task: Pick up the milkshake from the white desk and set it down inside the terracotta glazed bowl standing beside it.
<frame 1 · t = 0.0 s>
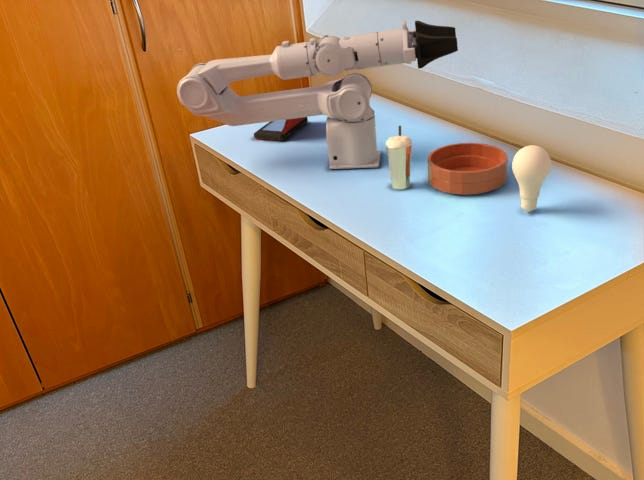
hand: (456, 38, 127), 22 cm above the table, tool horizontal, fingers open, 7 cm apart
milkshake: (401, 186, 131), on the table
lightbulb: (528, 212, 120), on the table
bowl: (467, 180, 131), on the table
handheld game console: (288, 132, 157), on the table
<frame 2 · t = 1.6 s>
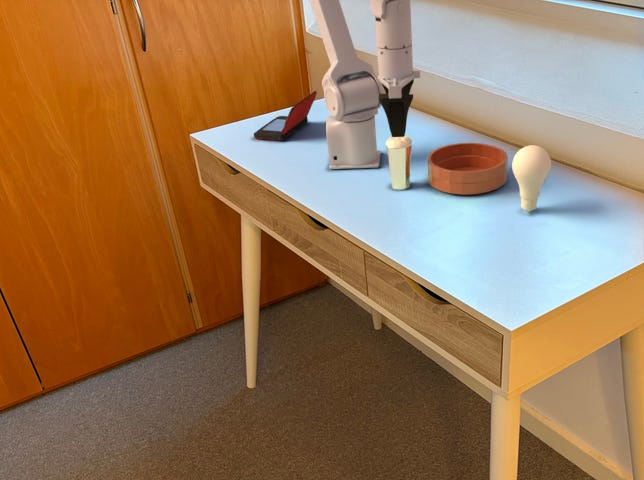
hand: (398, 128, 124), 10 cm above the table, tool pointing down, fingers open, 7 cm apart
nothing on the table moved.
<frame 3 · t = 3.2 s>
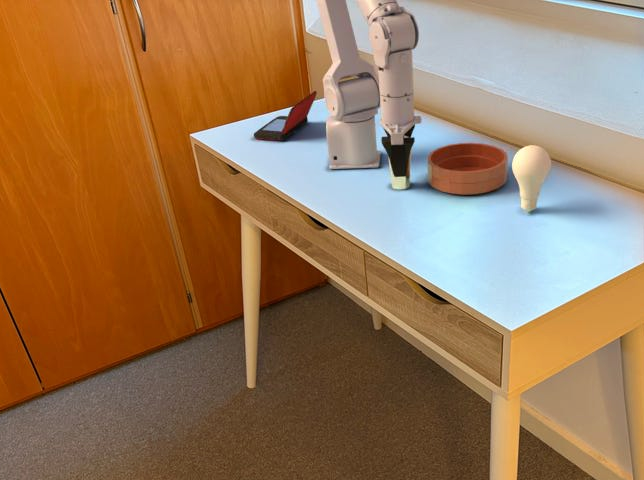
hand: (400, 170, 129), 3 cm above the table, tool pointing down, fingers closed on milkshake, 5 cm apart
milkshake: (401, 186, 131), on the table, touching gripper
everything else where it was.
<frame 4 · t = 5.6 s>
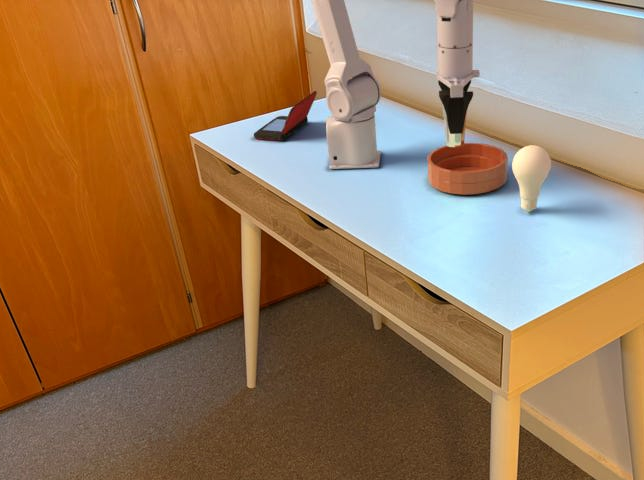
hand: (455, 127, 125), 10 cm above the table, tool pointing down, fingers closed on milkshake, 5 cm apart
milkshake: (455, 144, 127), point 7 cm above the table, touching gripper
everything else where it was.
when the fingers open (3 cm above the table, at t = 8.3 s): milkshake stays where it is, resting on bowl.
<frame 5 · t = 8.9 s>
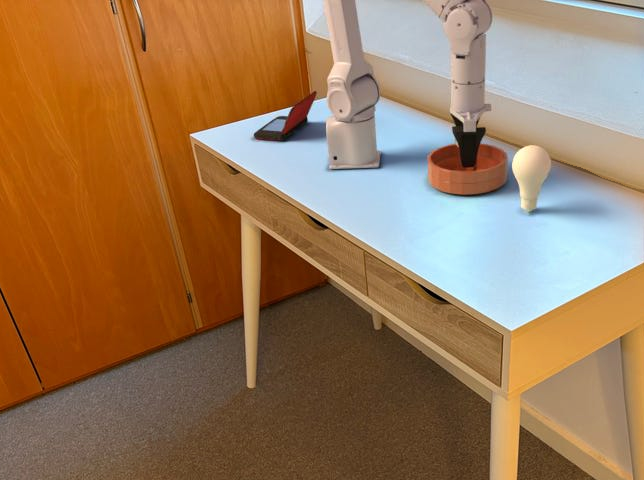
hand: (467, 158, 128), 4 cm above the table, tool pointing down, fingers open, 7 cm apart
milkshake: (467, 179, 131), resting on bowl
everything else where it was.
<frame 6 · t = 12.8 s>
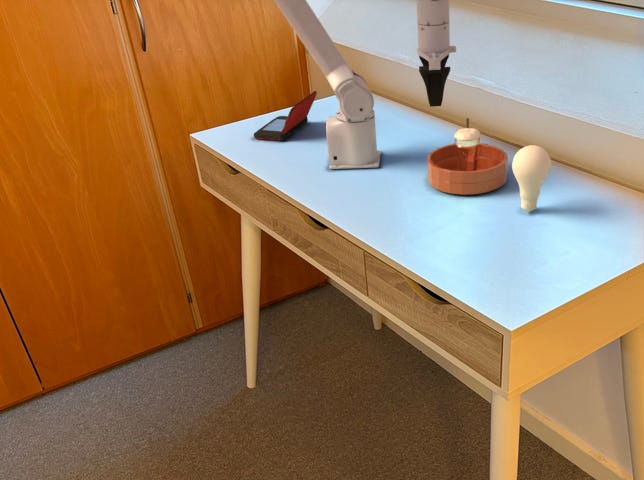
hand: (435, 99, 137), 10 cm above the table, tool pointing down, fingers open, 7 cm apart
nothing on the table moved.
at the end: milkshake inside the target area in the bowl (0.1 cm from its centre), point 0.3 cm above the bowl's base; the gripper is holding nothing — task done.
